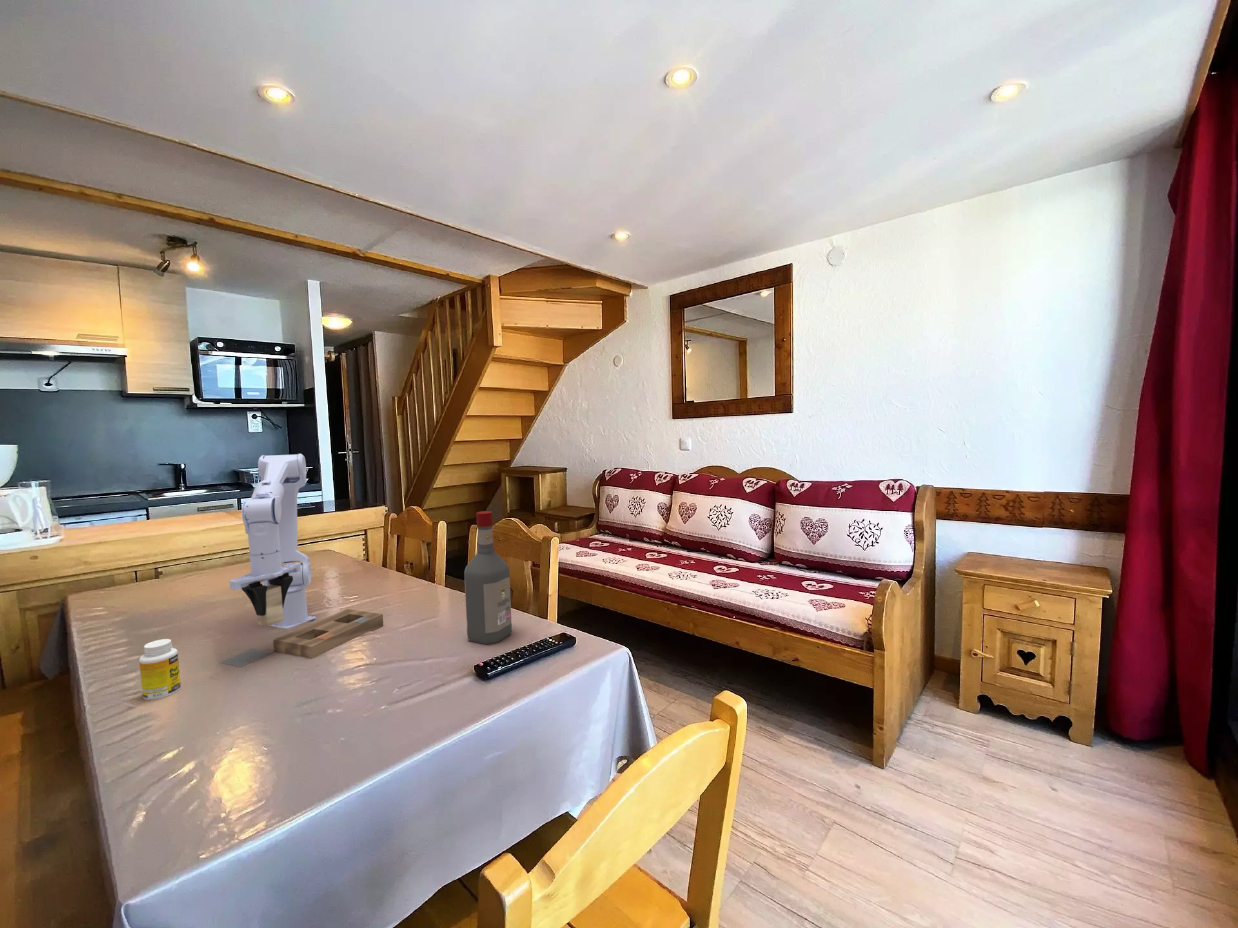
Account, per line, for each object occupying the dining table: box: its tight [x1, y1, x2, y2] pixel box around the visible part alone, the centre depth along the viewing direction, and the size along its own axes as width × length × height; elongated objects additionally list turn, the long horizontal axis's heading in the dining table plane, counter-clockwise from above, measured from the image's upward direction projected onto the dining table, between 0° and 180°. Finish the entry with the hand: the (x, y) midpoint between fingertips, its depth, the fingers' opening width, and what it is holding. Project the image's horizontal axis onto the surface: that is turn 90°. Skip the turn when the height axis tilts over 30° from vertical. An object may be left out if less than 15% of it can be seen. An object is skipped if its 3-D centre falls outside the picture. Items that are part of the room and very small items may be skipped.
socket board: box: [272, 608, 384, 659], centre depth 125 cm, size 12×20×3 cm, turn 159°
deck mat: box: [218, 648, 273, 668], centre depth 114 cm, size 7×7×1 cm
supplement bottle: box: [138, 638, 182, 701], centre depth 100 cm, size 6×6×10 cm
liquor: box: [463, 510, 513, 645], centre depth 123 cm, size 9×9×30 cm
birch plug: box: [257, 585, 284, 627], centre depth 116 cm, size 3×3×8 cm
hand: (270, 611), depth 116 cm, fingers closed on birch plug, 3 cm apart
